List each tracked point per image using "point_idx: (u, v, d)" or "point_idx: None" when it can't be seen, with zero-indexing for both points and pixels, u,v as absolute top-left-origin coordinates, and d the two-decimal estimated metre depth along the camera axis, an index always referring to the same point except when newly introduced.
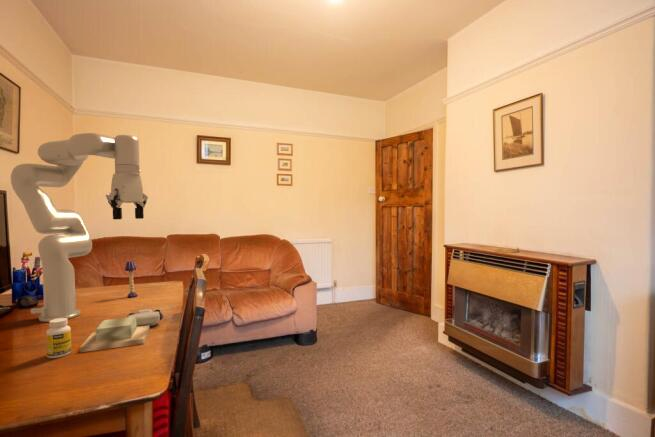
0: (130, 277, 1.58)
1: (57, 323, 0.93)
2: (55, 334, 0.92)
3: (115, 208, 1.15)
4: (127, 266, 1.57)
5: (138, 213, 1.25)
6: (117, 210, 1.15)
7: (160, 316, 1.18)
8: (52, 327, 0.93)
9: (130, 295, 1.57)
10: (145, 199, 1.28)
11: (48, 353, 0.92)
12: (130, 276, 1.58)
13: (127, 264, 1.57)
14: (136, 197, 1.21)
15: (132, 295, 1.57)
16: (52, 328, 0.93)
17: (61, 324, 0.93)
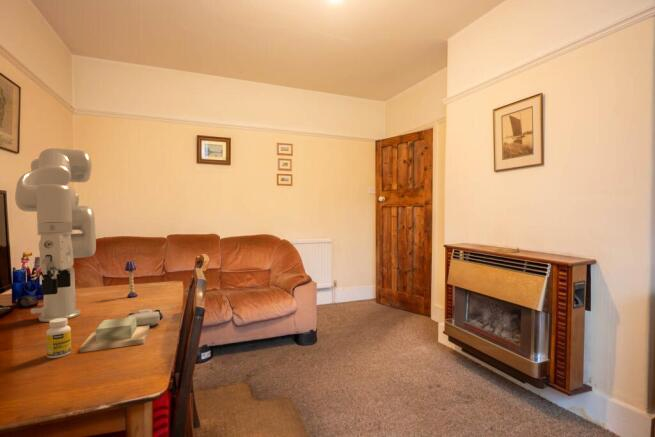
0: (130, 277, 1.58)
1: (57, 323, 0.93)
2: (55, 334, 0.92)
3: None
4: (127, 266, 1.57)
5: None
6: None
7: (160, 316, 1.18)
8: (52, 327, 0.93)
9: (130, 295, 1.57)
10: None
11: (48, 353, 0.92)
12: (130, 276, 1.58)
13: (127, 264, 1.57)
14: None
15: (132, 295, 1.57)
16: (52, 328, 0.93)
17: (61, 324, 0.93)
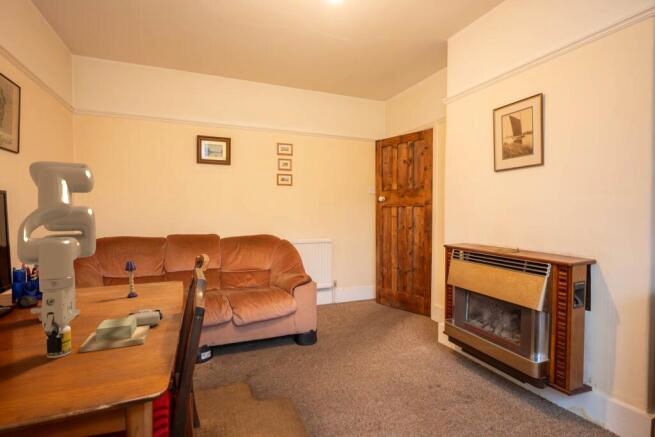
0: (130, 277, 1.58)
1: None
2: None
3: None
4: (127, 266, 1.57)
5: None
6: None
7: (160, 316, 1.18)
8: None
9: (130, 295, 1.57)
10: None
11: None
12: (130, 276, 1.58)
13: (127, 264, 1.57)
14: None
15: (132, 295, 1.57)
16: None
17: None
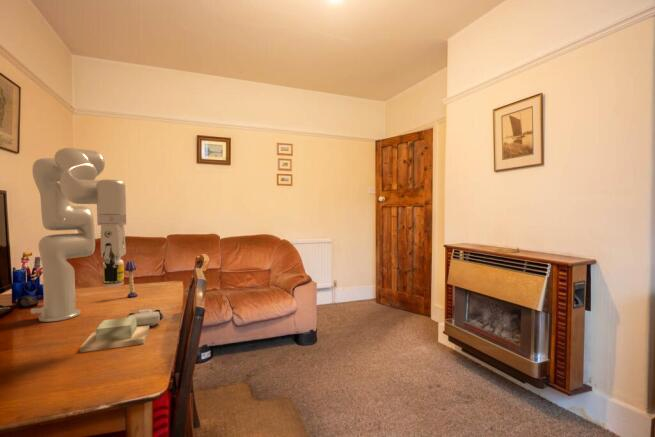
0: (130, 277, 1.58)
1: (113, 255, 1.02)
2: None
3: None
4: (127, 266, 1.57)
5: None
6: None
7: (160, 316, 1.18)
8: None
9: (130, 295, 1.57)
10: None
11: (105, 282, 1.02)
12: (130, 276, 1.58)
13: (127, 264, 1.57)
14: None
15: (132, 295, 1.57)
16: None
17: (116, 257, 1.03)
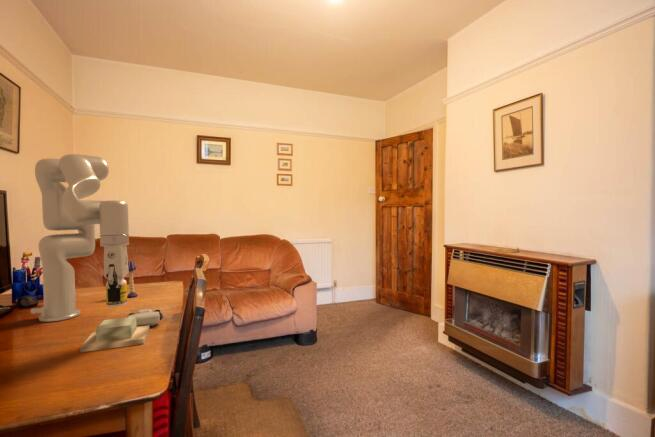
0: (130, 277, 1.58)
1: None
2: None
3: None
4: None
5: None
6: None
7: (160, 316, 1.18)
8: None
9: (130, 295, 1.57)
10: None
11: (108, 302, 1.02)
12: (130, 276, 1.58)
13: None
14: None
15: (132, 295, 1.57)
16: None
17: (119, 277, 1.03)
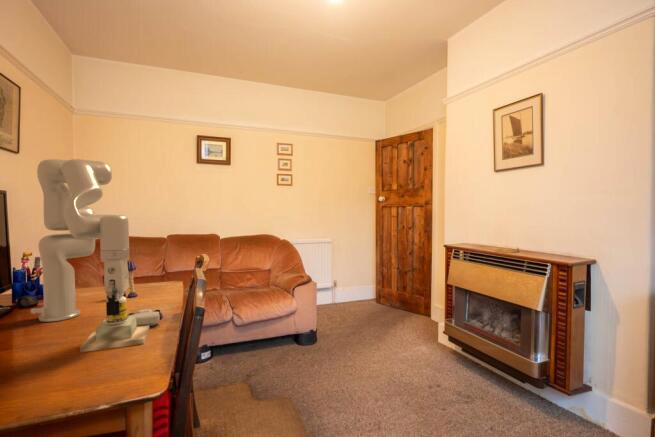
0: (130, 277, 1.58)
1: None
2: None
3: None
4: None
5: None
6: None
7: (160, 316, 1.18)
8: None
9: (130, 295, 1.57)
10: None
11: (108, 320, 1.02)
12: (130, 276, 1.58)
13: (127, 264, 1.57)
14: None
15: (132, 295, 1.57)
16: None
17: (119, 295, 1.04)
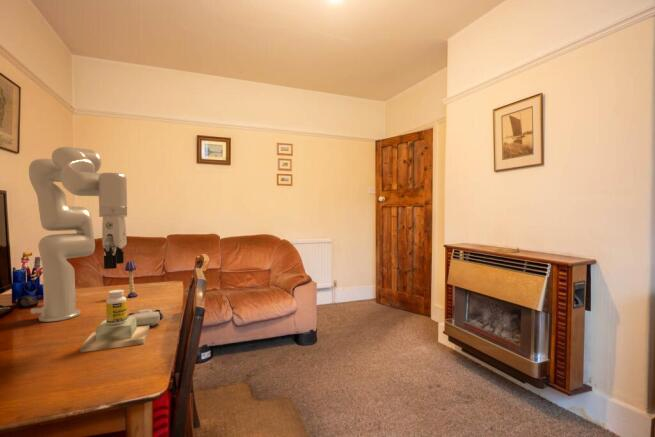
0: (130, 277, 1.58)
1: (116, 293, 1.03)
2: (114, 303, 1.02)
3: None
4: (127, 266, 1.57)
5: None
6: None
7: (160, 316, 1.18)
8: (111, 297, 1.03)
9: (130, 295, 1.57)
10: None
11: (108, 320, 1.02)
12: (130, 276, 1.58)
13: (127, 264, 1.57)
14: None
15: (132, 295, 1.57)
16: (111, 298, 1.03)
17: (119, 295, 1.04)
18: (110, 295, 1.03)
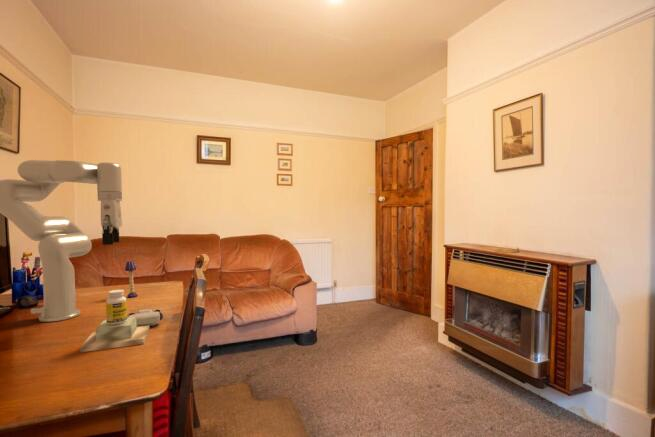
0: (130, 277, 1.58)
1: (116, 293, 1.03)
2: (114, 303, 1.02)
3: None
4: (127, 266, 1.57)
5: None
6: None
7: (160, 316, 1.18)
8: (111, 297, 1.03)
9: (130, 295, 1.57)
10: None
11: (108, 320, 1.02)
12: (130, 276, 1.58)
13: (127, 264, 1.57)
14: None
15: (132, 295, 1.57)
16: (111, 298, 1.03)
17: (119, 295, 1.04)
18: (110, 295, 1.03)
